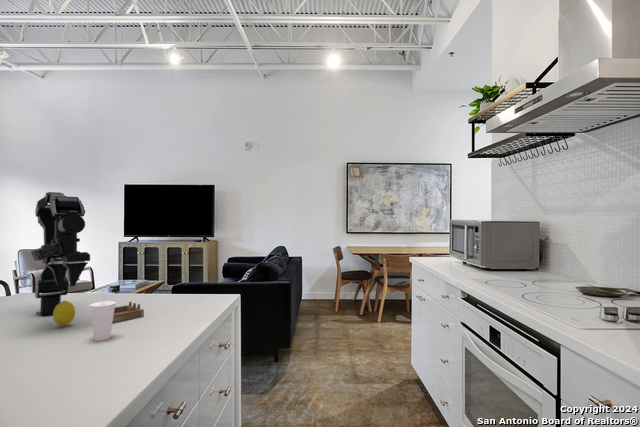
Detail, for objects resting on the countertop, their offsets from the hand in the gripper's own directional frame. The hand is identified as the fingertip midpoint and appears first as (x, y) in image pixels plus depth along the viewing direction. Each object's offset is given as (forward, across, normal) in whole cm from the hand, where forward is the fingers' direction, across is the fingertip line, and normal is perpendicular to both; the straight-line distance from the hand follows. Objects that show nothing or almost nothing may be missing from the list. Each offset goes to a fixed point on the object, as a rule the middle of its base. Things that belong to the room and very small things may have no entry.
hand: (65, 285), depth 109 cm
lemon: (+13, -1, 0) cm, 13 cm away
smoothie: (+14, +21, +1) cm, 25 cm away
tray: (+12, +2, +15) cm, 20 cm away
